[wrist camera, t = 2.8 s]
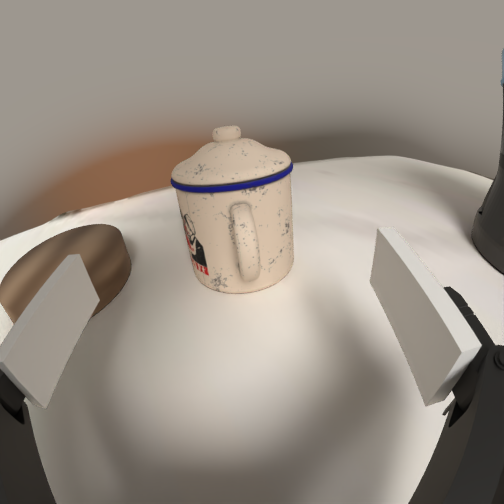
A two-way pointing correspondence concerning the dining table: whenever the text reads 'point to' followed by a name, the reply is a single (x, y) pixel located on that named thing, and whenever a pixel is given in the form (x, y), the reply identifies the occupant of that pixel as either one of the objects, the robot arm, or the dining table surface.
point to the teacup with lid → (237, 212)
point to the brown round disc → (51, 256)
